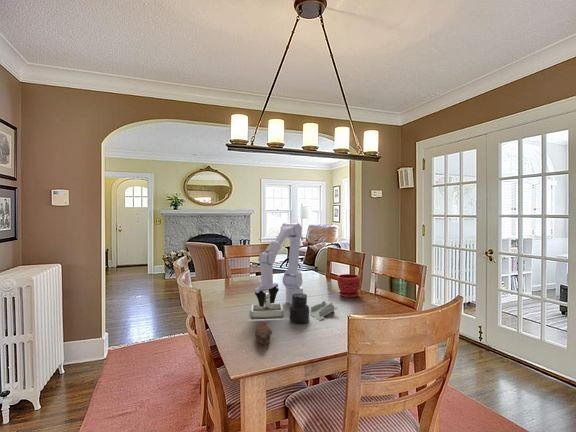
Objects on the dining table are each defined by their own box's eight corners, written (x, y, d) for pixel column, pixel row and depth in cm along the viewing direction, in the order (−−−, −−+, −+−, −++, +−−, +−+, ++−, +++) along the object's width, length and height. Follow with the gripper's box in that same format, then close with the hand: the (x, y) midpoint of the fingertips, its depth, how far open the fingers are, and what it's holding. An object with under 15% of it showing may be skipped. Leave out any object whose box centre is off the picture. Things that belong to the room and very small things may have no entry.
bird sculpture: (269, 327, 138) (269, 316, 138) (274, 353, 113) (274, 339, 113) (254, 328, 137) (254, 316, 137) (256, 354, 112) (256, 340, 112)
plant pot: (352, 292, 198) (352, 272, 197) (363, 297, 185) (364, 277, 185) (333, 293, 193) (333, 274, 193) (344, 299, 181) (344, 278, 181)
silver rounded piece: (266, 310, 159) (266, 292, 159) (272, 312, 156) (272, 293, 156) (259, 312, 156) (260, 293, 156) (265, 314, 153) (266, 295, 153)
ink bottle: (313, 320, 146) (313, 295, 146) (302, 326, 139) (301, 299, 139) (297, 316, 152) (297, 291, 152) (285, 321, 146) (285, 295, 145)
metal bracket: (323, 297, 165) (340, 305, 152) (325, 307, 166) (343, 316, 153) (300, 309, 159) (316, 318, 146) (303, 319, 160) (319, 329, 147)
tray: (281, 310, 162) (281, 303, 162) (283, 317, 150) (283, 310, 150) (251, 311, 161) (251, 304, 161) (251, 319, 149) (251, 311, 149)
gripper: (270, 273, 163) (270, 299, 163) (250, 278, 152) (250, 306, 152) (281, 275, 159) (281, 302, 159) (261, 280, 148) (261, 309, 148)
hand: (267, 304), depth 155 cm, fingers open, 7 cm apart
